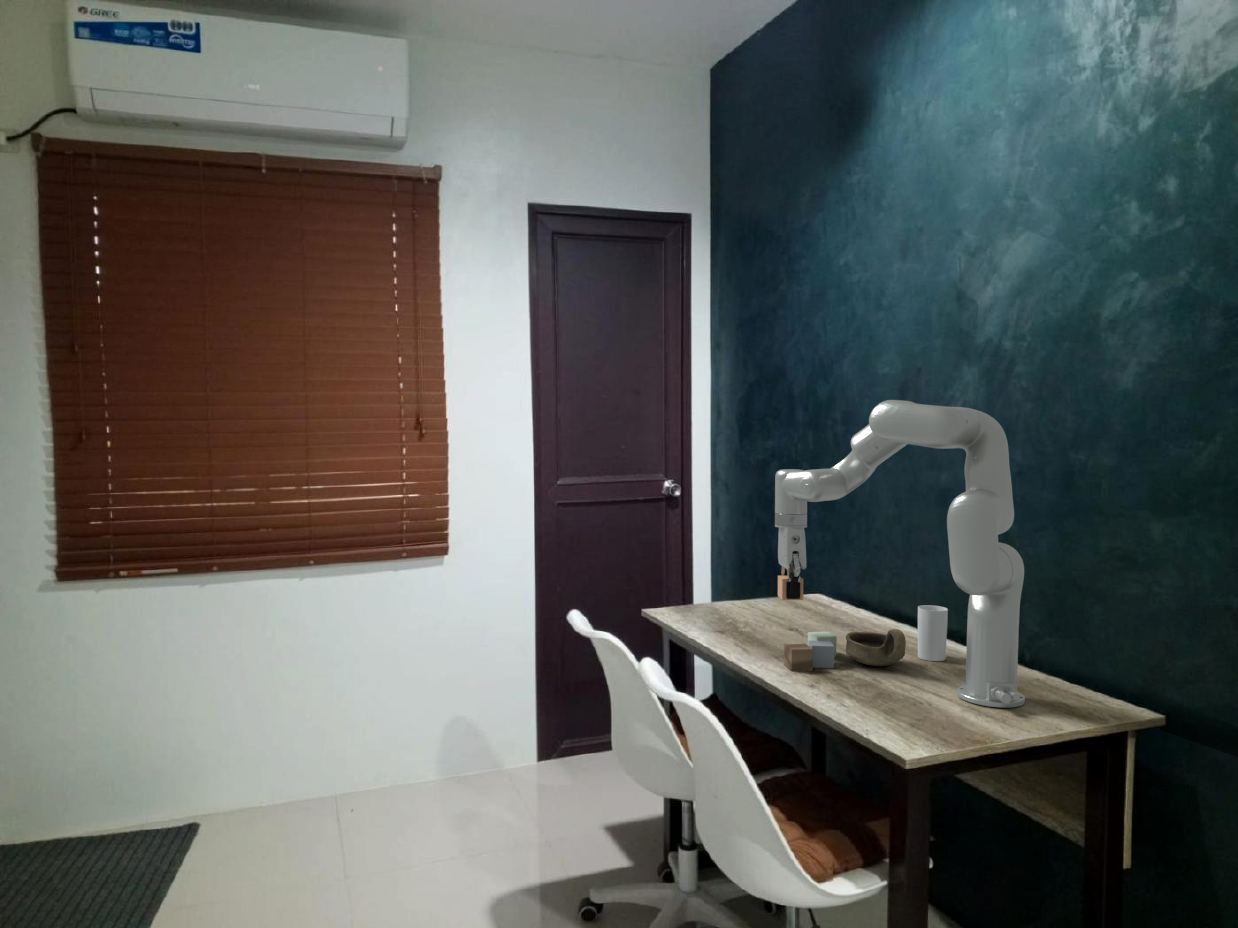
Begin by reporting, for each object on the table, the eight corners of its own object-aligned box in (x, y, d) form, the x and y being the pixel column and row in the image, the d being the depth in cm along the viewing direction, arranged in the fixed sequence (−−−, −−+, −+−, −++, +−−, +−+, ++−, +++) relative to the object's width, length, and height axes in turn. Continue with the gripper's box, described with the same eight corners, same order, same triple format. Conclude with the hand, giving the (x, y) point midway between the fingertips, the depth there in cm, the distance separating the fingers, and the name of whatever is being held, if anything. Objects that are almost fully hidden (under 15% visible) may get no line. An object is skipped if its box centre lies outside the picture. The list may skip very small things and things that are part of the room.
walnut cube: (812, 670, 194) (813, 648, 193) (791, 671, 193) (791, 649, 193) (804, 664, 199) (804, 643, 198) (783, 665, 198) (784, 643, 198)
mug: (951, 661, 203) (953, 610, 203) (924, 662, 202) (926, 611, 202) (931, 650, 213) (932, 602, 213) (905, 651, 212) (906, 602, 212)
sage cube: (836, 656, 206) (836, 636, 206) (816, 657, 205) (817, 637, 205) (826, 651, 211) (826, 631, 211) (807, 652, 210) (807, 632, 210)
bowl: (883, 654, 208) (885, 613, 208) (927, 675, 191) (928, 630, 191) (832, 657, 205) (833, 616, 205) (872, 678, 188) (873, 633, 188)
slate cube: (833, 668, 196) (834, 646, 196) (811, 667, 197) (812, 645, 196) (830, 662, 201) (830, 641, 201) (808, 661, 202) (808, 640, 201)
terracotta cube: (803, 599, 205) (803, 578, 205) (782, 599, 205) (782, 578, 205) (798, 595, 210) (798, 575, 210) (777, 596, 210) (777, 575, 210)
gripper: (815, 524, 199) (815, 603, 199) (797, 517, 216) (797, 590, 216) (783, 524, 198) (782, 603, 199) (768, 517, 215) (767, 590, 216)
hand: (790, 595), depth 207 cm, fingers closed on terracotta cube, 5 cm apart
